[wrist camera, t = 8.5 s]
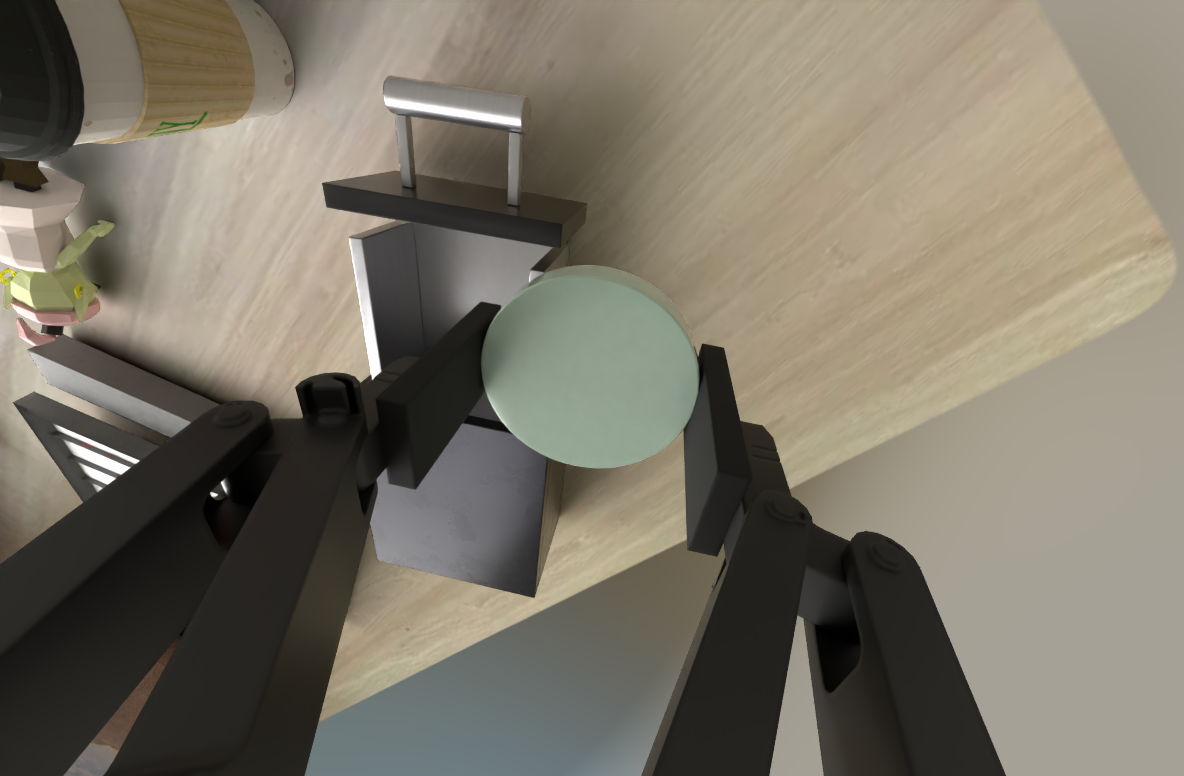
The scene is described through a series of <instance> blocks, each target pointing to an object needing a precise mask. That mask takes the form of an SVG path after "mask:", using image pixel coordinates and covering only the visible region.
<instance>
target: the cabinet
mask: <svg viewBox="0 0 1184 776" xmlns="http://www.w3.org/2000/svg"><path fill="white" fill-rule="evenodd" d="M370 380H372V375H370V376H368V377H367V378H366V379H365V380H364V381H362V382H361V383H360V388H362V387H363V386H365V385H366V384H367V383H368V382H369V381H370ZM565 467H566V464H565V463H562V462H559V461H556V460H553V459H551V458H549V457H546V456H544V455H542V454H540V453H538V452H537V451H535V450H533V449H532V448H530V447H529V446H527V445H526V444H525V443H523V442H522V441H521V440H519V439H518V438H517V437H516V436H515V435H514V434H513V433H512V432H511V431H510V430H509V429H508V428H507V427H506V426H505V425H504V424H503V422H500V421H495V420H490V419H485V418H480V417H476V416H471V415H468V416H467V418H466V419H465V421H464V422H463V424H462V425H461V426H460V428H459V429H458V431H457V432H456V433H455V435H454V436H453V438H452V439H451V441H450V442H449V443H448V445H447V446H446V448H445V449H444V451H443V452H442V453H441V455H440V456H439V458H438V459H437V460H436V462H435V463H434V465H433V466H432V468H431V469H430V470H429V472H428V473H427V475H426V476H425V478H424V479H423V480H422V482H421V483H420V485H419V486H418V487H417V489H416V490H414V489H410V488H405V487H401V486H396V485H392V484H389V483H388V477H387V471H386V468H385V470H384V471H383V472H382V473H381V474H380V476H379V477H378V478H377V484H378V494H377V498H376V502H375V506H374V510H373V513H372V517H371V521H370V527H371V532H372V536H373V541H374V546H375V550H376V555H377V560H378V561H382V562H387V563H391V564H395V565H399V566H403V567H407V568H412V569H416V570H420V571H424V572H428V573H433V574H437V575H441V576H445V577H449V578H453V579H458V580H462V581H466V582H470V583H474V584H478V585H483V586H487V587H491V588H495V589H499V590H503V591H508V592H512V593H516V594H520V595H524V596H529V597H533V598H534V597H535V595H536V591H537V588H538V585H539V582H540V578H541V575H542V572H543V568H544V565H545V562H546V559H547V555H548V552H549V549H550V545H551V542H552V539H553V536H554V532H555V529H556V526H557V523H558V519H559V514H560V506H561V498H562V490H563V482H564V474H565Z"/></svg>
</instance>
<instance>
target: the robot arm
mask: <svg viewBox="0 0 1184 776" xmlns="http://www.w3.org/2000/svg"><path fill="white" fill-rule="evenodd" d="M500 309H501V305H498V304H492V303H487V302H482V301H481V302H480V303H478V304H477V305H476V306H475V307H474V308H473V309H472V310H471V311H470V312H469V313H468V314H467V315H465V316H464V317H463V318H462V319H461V320H460V321H459V322H458V323H457V324H456V325H455V326H454V327H452V328H451V329H450V330H449V331H448V332H447V333H446V334H445V335H444V336H443V337H442V338H441V339H439V340H438V341H437V342H436V343H435V344H434V345H433V346H432V347H431V348H430V349H429V350H428V351H426V352H425V353H424V354H423V355H422V356H421V357H420V358H419V357H414V356H409V355H408V356H405V357H403V358H400V359H398V360H396V361H393V362H392V363H391V364H389V365H388V366H387V367H386V368H385V369H383V370H382V372H380V373H379V374H378V375H376V376H375V377H374V379H373V380H370V381H369V382H368V383H367V384H366V385H365V386H363V387H362V388H360V382H359V381H358V380H357V379H356V377H354V376H352V375H349V374H345V373H336V372H335V373H323V374H319V375H315V376H311V377H309V378H307V379H305V380H303V381H301V382H300V383H299V384H298V385H297V386H296V387H295V388H296V392H297V396H298V399H299V403H300V407H301V410H302V414H303V418H300V419H271V418H270V414H269V411H268V408H267V407H266V406H265V405H263V404H262V403H258V402H255V401H235V402H229V403H225V404H223V405H220V406H217V407H214V408H212V409H211V410H209V411H207V412H205V413H204V414H202V415H201V416H199V417H198V418H197V419H195V420H194V421H193V422H191V423H190V424H189V425H187V426H186V427H185V428H183V429H182V430H181V431H179V432H178V433H177V434H175V435H174V436H173V437H171V438H170V439H169V440H167V441H166V442H164V443H163V444H162V445H160V446H159V447H158V448H156V449H155V450H154V451H152V452H151V453H150V454H148V455H147V456H146V457H144V458H143V459H142V460H140V461H139V462H138V463H136V464H135V465H133V466H132V467H131V468H129V469H128V470H127V471H125V472H124V473H123V474H121V475H120V476H119V477H117V478H116V479H115V480H113V481H112V482H111V483H109V484H108V485H107V486H105V487H104V488H103V489H101V490H100V491H98V492H97V493H96V494H94V495H93V496H92V497H90V498H89V499H88V500H86V501H85V502H84V503H82V504H81V505H80V506H78V507H77V508H76V509H74V510H73V511H72V512H70V513H69V514H67V515H66V516H65V517H63V518H62V519H61V520H59V521H58V522H57V523H55V524H54V525H53V526H51V527H50V528H49V529H47V530H46V531H45V532H43V533H42V534H41V535H39V536H38V537H36V538H35V539H34V540H32V541H31V542H30V543H28V544H27V545H26V546H24V547H23V548H22V549H20V550H19V551H18V552H16V553H15V554H14V555H12V556H11V557H10V558H8V559H7V560H6V561H4V562H3V563H1V564H0V776H64V774H65V773H66V772H67V771H68V770H69V768H70V767H71V766H72V765H73V764H74V762H75V761H76V760H77V759H78V757H79V756H80V755H81V754H82V753H83V751H84V750H85V749H86V748H87V746H88V745H89V744H90V743H91V742H92V740H93V739H94V738H95V737H96V736H97V734H98V733H99V732H100V731H101V729H102V728H103V727H104V726H105V725H106V723H107V722H108V721H109V720H110V719H111V717H112V716H113V715H114V714H115V712H116V711H117V710H118V709H119V708H120V706H121V705H122V704H123V703H124V701H125V700H126V699H127V698H128V697H129V695H130V694H131V693H132V692H133V691H134V689H135V688H136V687H137V686H138V684H139V683H140V682H141V681H142V680H143V678H144V677H145V676H146V675H147V674H148V672H149V671H150V670H151V669H152V667H153V666H154V665H155V664H156V663H157V661H158V660H159V659H160V658H161V656H162V655H163V654H164V653H165V652H166V650H167V649H168V648H169V647H170V646H171V644H172V643H173V642H174V641H175V639H176V638H177V637H178V636H179V635H180V633H181V632H182V631H183V630H184V629H185V627H186V626H187V625H188V626H187V628H186V630H185V632H184V634H183V635H182V637H181V639H180V641H179V643H178V644H177V646H176V648H175V650H174V652H173V654H172V655H171V657H170V659H169V661H168V663H167V664H166V666H165V668H164V670H163V672H162V673H161V675H160V677H159V679H158V681H157V683H156V684H155V686H154V688H153V690H152V692H151V693H150V695H149V697H148V699H147V701H146V702H145V704H144V706H143V708H142V710H141V712H140V713H139V715H138V717H137V719H136V721H135V722H134V724H133V726H132V728H131V730H130V732H129V733H128V735H127V737H126V739H125V741H124V742H123V744H122V746H121V748H120V750H119V751H118V753H117V755H116V757H115V759H114V760H113V762H112V763H111V765H110V767H109V768H108V770H107V771H106V773H105V774H104V775H103V776H304V775H305V772H306V768H307V764H308V760H309V756H310V752H311V749H312V745H313V741H314V737H315V733H316V729H317V725H318V722H319V718H320V714H321V710H322V706H323V702H324V698H325V695H326V691H327V687H328V683H329V679H330V675H331V671H332V668H333V664H334V660H335V656H336V652H337V648H338V644H339V641H340V637H341V633H342V629H343V625H344V621H345V617H346V614H347V610H348V606H349V602H350V598H351V594H352V591H353V587H354V583H355V579H356V575H357V571H358V567H359V564H360V560H361V556H362V552H363V548H364V544H365V540H366V537H367V533H368V529H369V525H370V521H371V517H372V513H373V510H374V506H375V502H376V498H377V494H378V484H377V478H378V477H379V476H380V474H381V473H382V472H383V471H384V470H385V468H386V471H387V477H388V483H389V484H392V485H396V486H401V487H405V488H410V489H414V490H416V489H417V487H418V486H419V485H420V483H421V482H422V480H423V479H424V478H425V476H426V475H427V473H428V472H429V470H430V469H431V468H432V466H433V465H434V463H435V462H436V460H437V459H438V458H439V456H440V455H441V453H442V452H443V451H444V449H445V448H446V446H447V445H448V443H449V442H450V441H451V439H452V438H453V436H454V435H455V433H456V432H457V431H458V429H459V428H460V426H461V425H462V424H463V422H464V421H465V419H466V418H467V416H468V415H469V414H470V412H471V411H472V409H473V408H474V406H475V405H476V404H477V402H478V401H479V399H480V398H481V396H482V395H483V394H484V392H485V388H484V384H483V379H482V372H481V353H482V347H483V342H484V338H485V336H486V333H487V330H488V328H489V326H490V324H491V322H492V321H493V319H494V317H495V316H496V314H497V313H498V312H499V311H500ZM698 363H699V374H700V386H699V393H698V396H697V399H696V403H695V406H694V409H693V412H692V415H691V418H690V420H689V422H688V423H687V425H686V427H685V428H684V458H685V491H686V524H687V550H689V551H694V552H698V553H703V554H707V555H712V556H718V554H719V552H720V549H721V547H722V545H723V543H724V549H725V559H724V562H723V564H722V566H721V568H720V570H719V572H718V574H717V577H716V579H715V581H714V583H713V585H712V588H713V589H712V592H711V594H710V597H709V599H708V602H707V605H706V607H705V610H704V612H703V615H702V618H701V620H700V623H699V626H698V628H697V631H696V633H695V636H694V639H693V642H692V644H691V647H690V650H689V652H688V654H687V657H686V660H685V662H684V665H683V668H682V670H681V673H680V675H679V678H678V681H677V683H676V686H675V689H674V691H673V694H672V696H671V699H670V702H669V705H668V707H667V710H666V712H665V715H664V717H663V720H662V723H661V725H660V729H659V731H658V733H657V736H656V738H655V741H654V744H653V747H652V749H651V752H650V754H649V757H648V759H647V762H646V765H645V767H644V770H643V773H642V775H641V776H769V774H770V768H771V763H772V757H773V751H774V745H775V740H776V734H777V728H778V723H779V717H780V711H781V705H782V699H783V694H784V688H785V683H786V677H787V671H788V665H789V660H790V654H791V648H792V642H793V637H794V631H795V625H796V619H797V615H798V616H800V617H802V618H804V626H805V634H806V641H807V649H808V657H809V665H810V672H811V680H812V687H813V696H814V703H815V710H816V718H817V726H818V734H819V742H820V749H821V757H822V765H823V772H824V776H1006V775H1005V772H1004V770H1003V767H1002V765H1001V763H1000V760H999V758H998V755H997V753H996V750H995V748H994V746H993V743H992V741H991V738H990V736H989V733H988V731H987V729H986V726H985V724H984V722H983V719H982V717H981V714H980V712H979V709H978V707H977V704H976V702H975V700H974V697H973V695H972V692H971V690H970V688H969V685H968V683H967V680H966V678H965V675H964V673H963V671H962V668H961V666H960V664H959V661H958V659H957V656H956V654H955V651H954V649H953V646H952V644H951V642H950V639H949V637H948V634H947V632H946V629H945V627H944V625H943V622H942V620H941V617H940V615H939V612H938V610H937V608H936V605H935V603H934V600H933V598H932V596H931V593H930V591H929V588H928V586H927V584H926V581H925V579H924V576H923V574H922V571H921V569H920V567H919V566H918V564H917V562H916V560H915V559H914V557H913V556H912V555H911V554H910V553H909V552H908V551H907V550H906V549H905V548H904V547H902V546H901V545H900V544H898V543H896V542H895V541H893V540H892V539H890V538H888V537H886V536H883V535H881V534H878V533H874V532H868V531H864V532H859V533H857V534H856V535H855V536H854V537H853V538H852V539H851V541H848V540H845V539H843V538H841V537H839V536H837V535H835V534H832V533H830V532H828V531H826V530H824V529H822V528H820V527H818V526H816V525H815V524H813V522H812V516H811V515H810V513H809V512H808V510H807V508H806V507H805V506H804V505H802V504H801V503H800V502H799V501H798V500H797V499H795V498H793V497H792V496H791V493H790V490H789V487H788V484H787V480H786V477H785V474H784V471H783V468H782V465H781V463H780V458H779V455H778V452H777V449H776V445H775V442H774V439H773V437H772V436H771V435H770V434H769V432H768V431H767V430H766V429H765V428H764V427H763V426H762V425H757V424H752V423H747V422H742V421H740V418H739V413H738V409H737V404H736V400H735V395H734V391H733V386H732V382H731V377H730V373H729V368H728V364H727V359H726V355H725V350H724V348H723V347H717V346H712V345H707V344H702V346H701V349H700V352H699V356H698ZM220 483H221V484H222V486H223V489H224V490H223V491H222V492H220V493H219V494H218V495H217V496H216V497H214V498H213V497H212V496H211V494H210V493H211V492H212V491H213V490H214V489H215V488H216V487H217V486H218V485H219V484H220ZM189 622H190V623H189Z"/></svg>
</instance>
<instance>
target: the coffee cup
mask: <svg viewBox="0 0 1184 776" xmlns="http://www.w3.org/2000/svg"><path fill="white" fill-rule="evenodd" d="M293 89H294V67H293V61H292V58H291V54H290V50H289V48H288V46H287V43H286V41H285V38H284V36H283V35H282V33H281V31H280V29H279V28H278V26H277V25H276V23H275V22H274V21H273V19H272V18H271V17H270V15H269V14H268V13H267V12H266V11H265V10H264V9H263V8H262V7H261V6H260V5H259V4H257V3H256V2H255V1H253V0H0V157H3V158H7V159H17V160H25V161H46V160H50V159H54V158H57V157H60V156H61V155H63V154H64V153H65V152H66V151H68V150H69V149H70V148H72V146H73V145H76V144H82V143H89V142H93V143H99V144H113V143H120V142H126V141H132V140H138V139H144V138H150V137H157V136H163V135H169V134H175V133H181V132H187V131H193V130H200V129H206V128H212V127H218V126H224V125H228V124H232V123H235V122H236V121H238V120H243V119H249V118H256V117H263V116H269V115H273V114H277V113H278V112H280V111H282V110H283V109H284V108H285V107H286V106H287V104H288V103H289V101H290V99H291V97H292V93H293Z"/></svg>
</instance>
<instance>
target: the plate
mask: <svg viewBox="0 0 1184 776" xmlns="http://www.w3.org/2000/svg"><path fill="white" fill-rule="evenodd" d="M481 372H482V379H483V384H484V388H485V391H486V394H487V397H488V399H489V401H490V403H491V405H492V407H493V409H494V411H495V412H496V414H497V415H498V417H499V418H500V420H501V421H502V422H503V424H504V425H505V426H506V427H507V428H508V429H509V430H510V431H511V432H512V433H513V434H514V435H515V436H516V437H517V438H518V439H519V440H521V441H522V442H523V443H525V444H526V445H527V446H529V447H530V448H532V449H533V450H535V451H537V452H538V453H540V454H542V455H544V456H546V457H549V458H551V459H553V460H556V461H559V462H562V463H565V464H569V465H573V466H579V467H585V468H615V467H621V466H626V465H630V464H634V463H637V462H640V461H642V460H645V459H647V458H649V457H651V456H653V455H655V454H657V453H658V452H660V451H661V450H663V449H664V448H665V447H667V446H668V445H669V444H670V443H671V442H672V441H674V440H675V439H676V438H677V437H678V435H679V434H680V433H681V432H682V430H683V429H684V428H685V427H686V425H687V423H688V422H689V420H690V418H691V415H692V412H693V409H694V406H695V403H696V399H697V396H698V393H699V386H700V374H699V363H698V355H697V349H696V345H695V340H694V337H693V335H692V332H691V330H690V327H689V325H688V323H687V322H686V320H685V318H684V317H683V315H682V313H681V312H680V311H679V310H678V308H677V307H676V306H675V304H674V303H673V302H672V301H671V300H670V299H669V298H668V297H667V296H666V295H665V294H664V293H663V292H661V291H660V290H659V289H657V288H656V287H654V286H653V285H652V284H650V283H649V282H647V281H645V280H643V279H641V278H640V277H638V276H636V275H633V274H630V273H628V272H625V271H623V270H619V269H615V268H611V267H606V266H597V265H575V266H568V267H562V268H559V269H555V270H552V271H549V272H547V273H544V274H542V275H540V276H538V277H536V278H534V279H533V280H531V281H530V282H528V283H527V284H525V285H524V286H523V287H521V288H520V289H519V290H518V291H517V292H516V293H515V294H514V295H513V296H512V297H511V298H510V299H509V300H508V301H507V302H506V304H505V305H504V306H503V307H502V308H501V309H500V311H499V312H498V313H497V314H496V316H495V317H494V319H493V321H492V322H491V324H490V326H489V328H488V330H487V333H486V336H485V338H484V342H483V347H482V353H481Z"/></svg>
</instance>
